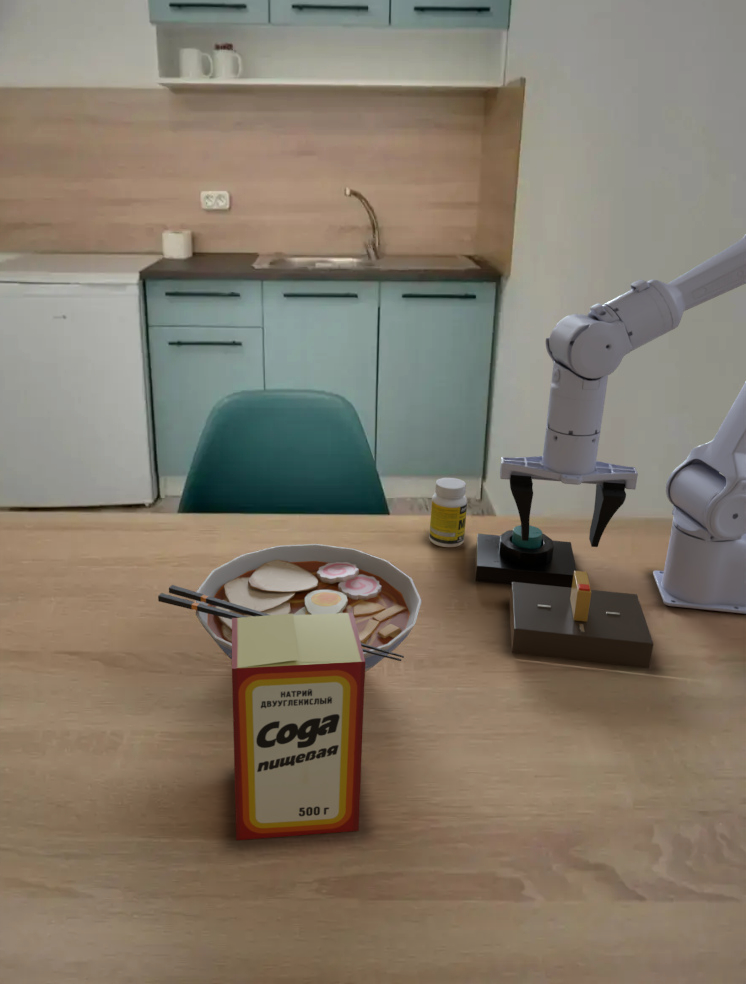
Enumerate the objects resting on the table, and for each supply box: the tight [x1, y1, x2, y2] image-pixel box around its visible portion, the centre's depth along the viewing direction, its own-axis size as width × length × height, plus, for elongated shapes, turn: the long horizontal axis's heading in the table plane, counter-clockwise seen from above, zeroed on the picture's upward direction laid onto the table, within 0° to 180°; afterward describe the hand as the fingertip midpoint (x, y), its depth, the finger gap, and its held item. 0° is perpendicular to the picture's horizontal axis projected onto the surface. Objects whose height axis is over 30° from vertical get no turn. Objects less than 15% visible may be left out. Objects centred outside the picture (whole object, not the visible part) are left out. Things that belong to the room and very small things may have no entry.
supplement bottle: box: [428, 477, 468, 548], centre depth 111 cm, size 5×5×8 cm
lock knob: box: [570, 570, 592, 622], centre depth 90 cm, size 4×1×4 cm, turn 170°
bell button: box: [512, 524, 544, 549], centre depth 104 cm, size 4×4×2 cm
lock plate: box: [508, 582, 654, 669], centre depth 91 cm, size 14×10×3 cm
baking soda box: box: [231, 613, 366, 841], centre depth 64 cm, size 10×6×16 cm
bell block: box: [474, 529, 578, 588], centre depth 104 cm, size 12×9×4 cm
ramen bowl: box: [157, 543, 423, 673], centre depth 85 cm, size 25×23×8 cm
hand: (558, 539), depth 94 cm, fingers open, 7 cm apart
